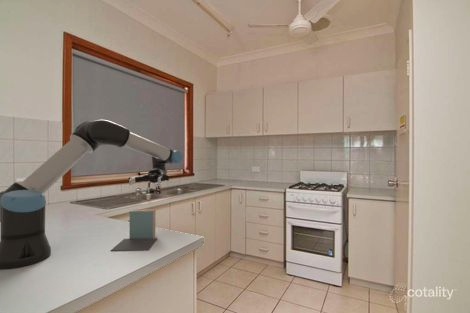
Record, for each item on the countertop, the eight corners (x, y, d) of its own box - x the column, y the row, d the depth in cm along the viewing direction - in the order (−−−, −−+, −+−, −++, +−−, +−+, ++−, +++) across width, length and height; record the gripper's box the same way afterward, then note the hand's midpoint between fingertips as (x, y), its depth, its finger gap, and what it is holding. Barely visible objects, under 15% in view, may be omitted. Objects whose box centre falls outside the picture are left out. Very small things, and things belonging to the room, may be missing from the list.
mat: (148, 250, 91) (148, 249, 91) (110, 251, 91) (110, 250, 91) (157, 238, 104) (157, 238, 104) (124, 239, 103) (124, 238, 103)
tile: (152, 238, 105) (153, 211, 105) (129, 239, 104) (129, 211, 104) (155, 235, 109) (155, 209, 109) (132, 236, 108) (133, 209, 108)
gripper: (177, 180, 139) (170, 187, 117) (133, 183, 137) (118, 190, 116) (177, 167, 138) (170, 172, 117) (132, 170, 136) (117, 175, 115)
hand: (144, 181), depth 116 cm, fingers open, 13 cm apart
